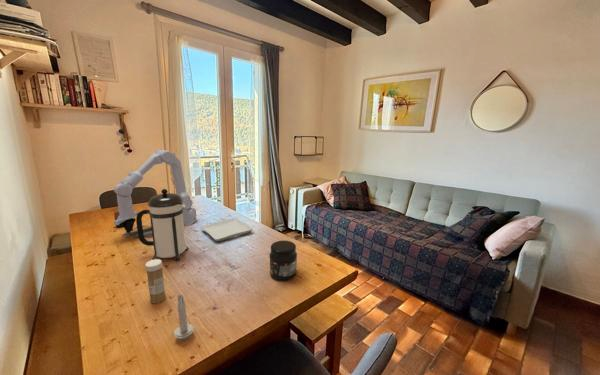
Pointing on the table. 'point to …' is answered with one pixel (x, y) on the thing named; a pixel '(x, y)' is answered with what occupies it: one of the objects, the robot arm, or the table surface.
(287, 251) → the supplement container
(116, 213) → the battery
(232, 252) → the table surface
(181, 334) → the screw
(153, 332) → the table surface
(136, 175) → the robot arm
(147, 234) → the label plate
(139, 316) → the table surface
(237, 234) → the salad plate
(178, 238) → the coffee press
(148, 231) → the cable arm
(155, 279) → the sprinkles bottle
